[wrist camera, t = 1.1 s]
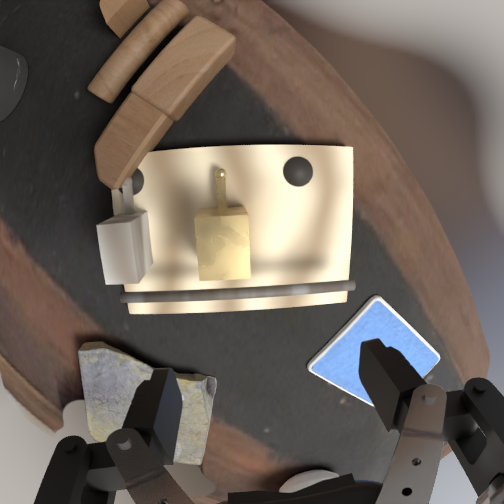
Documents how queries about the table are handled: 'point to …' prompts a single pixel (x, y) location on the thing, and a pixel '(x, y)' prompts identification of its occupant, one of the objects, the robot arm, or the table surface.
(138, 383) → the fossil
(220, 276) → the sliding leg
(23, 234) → the table surface
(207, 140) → the table surface
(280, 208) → the cream panel
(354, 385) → the tablet computer
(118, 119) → the wooden block set
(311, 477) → the white faceted vase
